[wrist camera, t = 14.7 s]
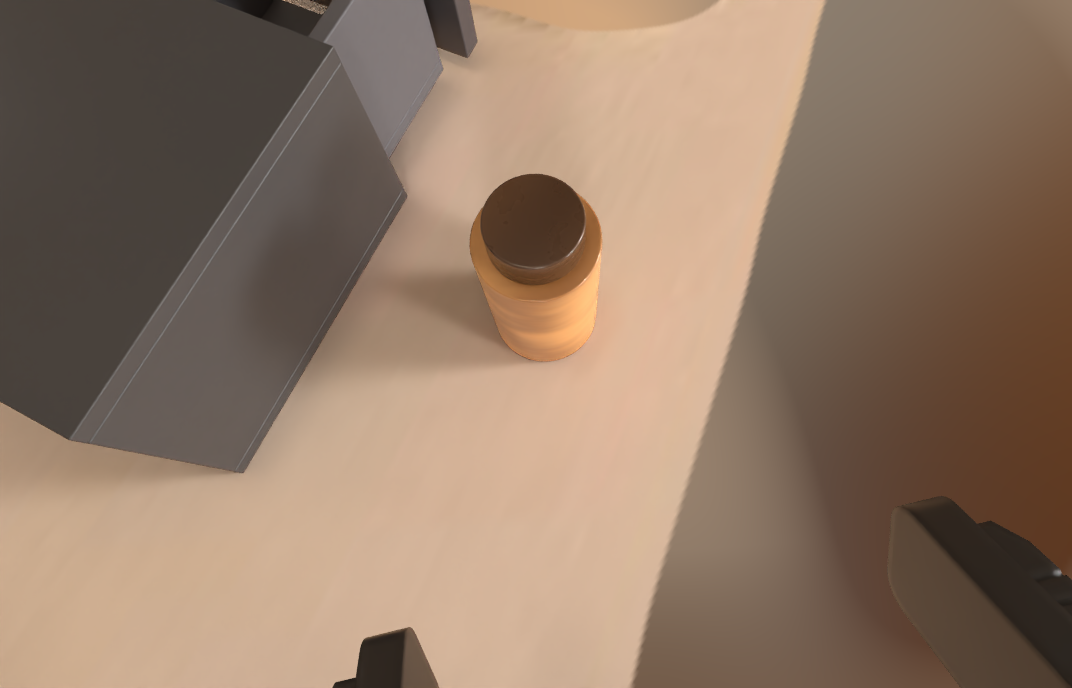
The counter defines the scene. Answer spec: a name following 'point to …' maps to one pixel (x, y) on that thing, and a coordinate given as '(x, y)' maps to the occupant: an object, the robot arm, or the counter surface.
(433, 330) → the counter surface
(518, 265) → the pepper mill
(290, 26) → the drawer
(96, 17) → the small drawer unit
